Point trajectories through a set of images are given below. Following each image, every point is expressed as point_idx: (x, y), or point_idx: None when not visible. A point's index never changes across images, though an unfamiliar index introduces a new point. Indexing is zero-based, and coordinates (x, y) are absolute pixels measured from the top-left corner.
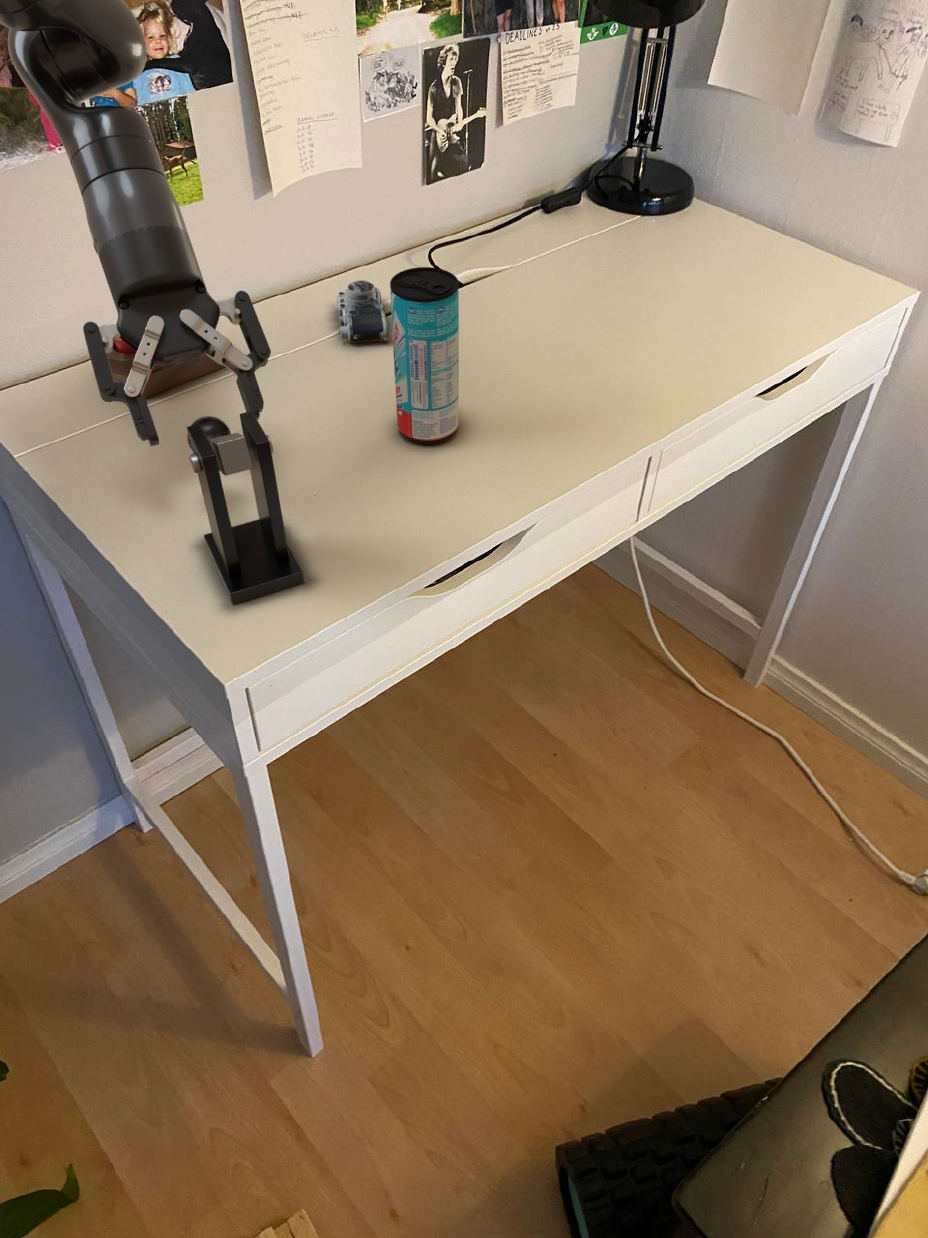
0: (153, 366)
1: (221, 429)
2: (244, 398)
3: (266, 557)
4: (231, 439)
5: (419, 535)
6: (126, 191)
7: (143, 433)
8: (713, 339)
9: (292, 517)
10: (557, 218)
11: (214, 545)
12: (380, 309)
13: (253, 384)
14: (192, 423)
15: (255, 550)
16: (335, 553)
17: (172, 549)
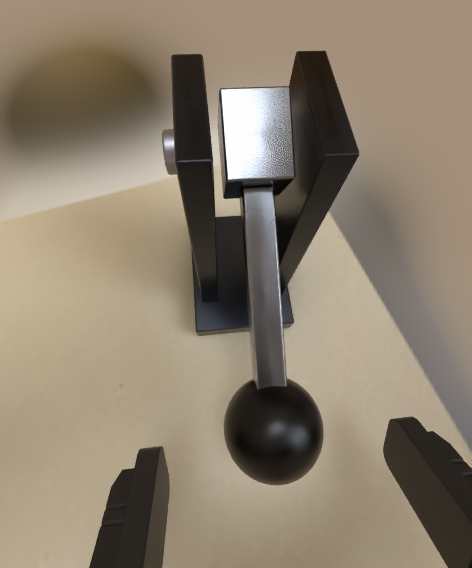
0: None
1: (246, 400)
2: (158, 521)
3: (223, 253)
4: (252, 97)
5: (34, 256)
6: None
7: (433, 438)
8: None
9: (169, 346)
10: None
11: (282, 295)
12: None
13: (109, 549)
14: (312, 453)
15: (233, 269)
16: (142, 260)
17: (332, 335)
